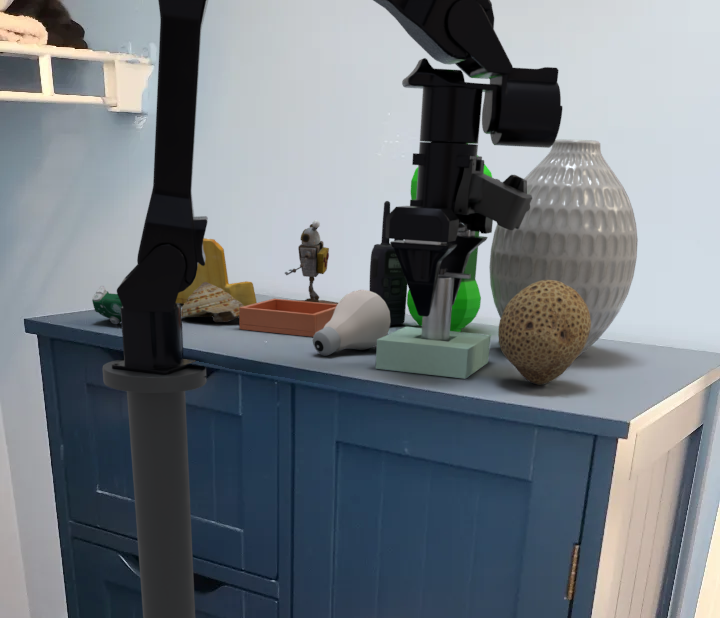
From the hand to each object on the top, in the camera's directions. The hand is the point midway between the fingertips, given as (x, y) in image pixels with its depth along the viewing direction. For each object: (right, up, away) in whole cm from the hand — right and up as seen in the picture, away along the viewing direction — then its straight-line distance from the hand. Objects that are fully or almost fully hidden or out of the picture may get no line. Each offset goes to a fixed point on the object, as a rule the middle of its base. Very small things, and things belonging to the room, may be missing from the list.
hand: (436, 310), depth 100 cm
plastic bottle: (+3, +6, +25) cm, 25 cm away
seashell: (-27, +7, +24) cm, 37 cm away
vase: (+14, -1, +12) cm, 19 cm away
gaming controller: (-37, +5, +19) cm, 42 cm away
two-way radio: (-5, +7, +27) cm, 28 cm away
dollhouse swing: (-29, +13, +37) cm, 49 cm away
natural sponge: (+10, -9, -4) cm, 14 cm away
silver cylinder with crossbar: (0, -5, +3) cm, 6 cm away
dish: (-17, +5, +22) cm, 28 cm away
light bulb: (-9, -2, +8) cm, 13 cm away
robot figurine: (-15, +12, +34) cm, 39 cm away
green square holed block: (0, -5, +3) cm, 6 cm away
